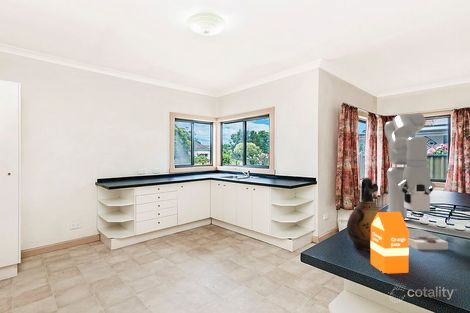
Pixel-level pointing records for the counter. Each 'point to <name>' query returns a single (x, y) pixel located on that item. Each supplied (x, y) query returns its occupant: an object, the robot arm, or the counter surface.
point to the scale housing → (428, 243)
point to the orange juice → (389, 243)
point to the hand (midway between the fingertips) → (416, 202)
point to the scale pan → (421, 234)
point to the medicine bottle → (418, 199)
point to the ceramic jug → (363, 217)
